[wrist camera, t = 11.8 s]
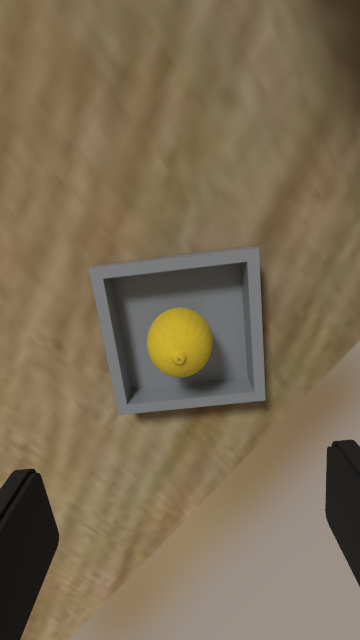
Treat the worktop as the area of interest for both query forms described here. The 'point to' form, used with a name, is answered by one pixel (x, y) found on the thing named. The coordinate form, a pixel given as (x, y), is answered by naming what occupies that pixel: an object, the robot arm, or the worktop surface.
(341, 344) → the worktop surface
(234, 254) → the box
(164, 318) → the lemon
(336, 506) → the robot arm
